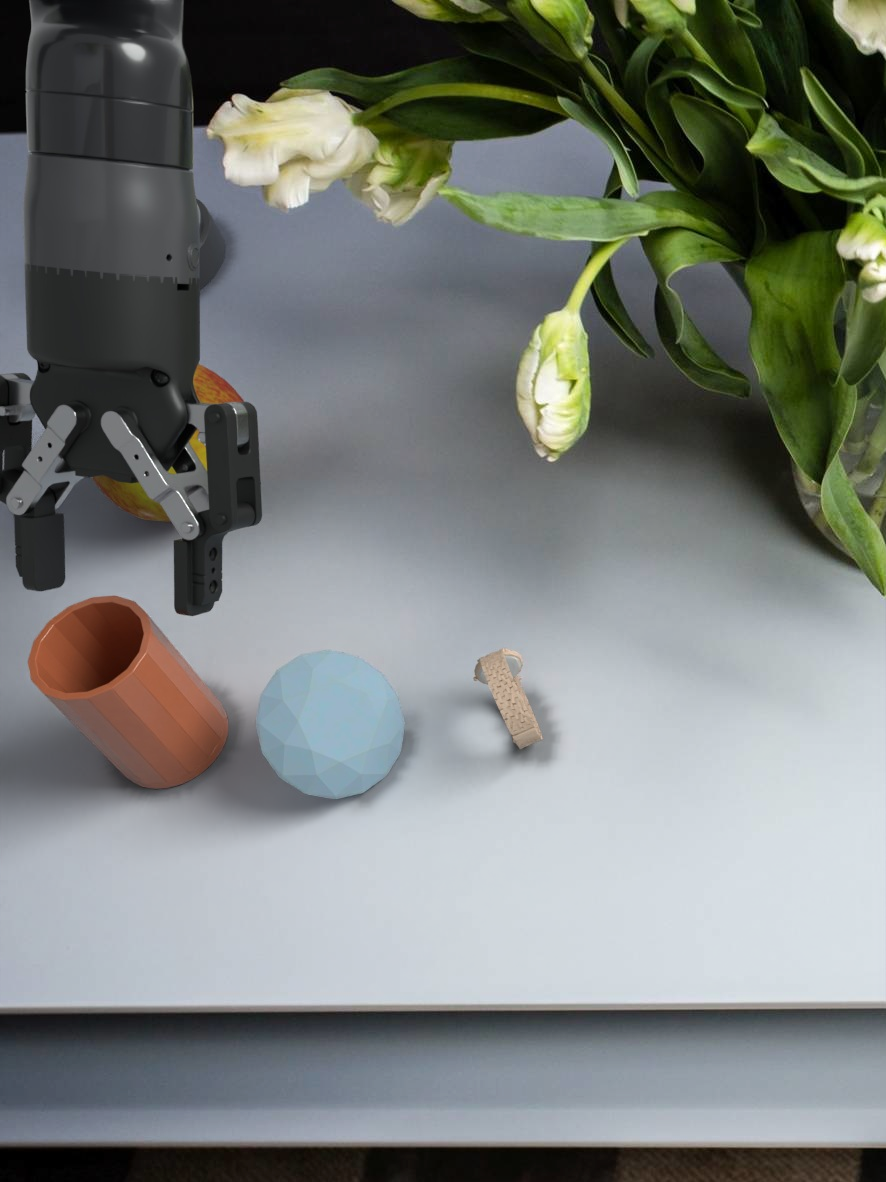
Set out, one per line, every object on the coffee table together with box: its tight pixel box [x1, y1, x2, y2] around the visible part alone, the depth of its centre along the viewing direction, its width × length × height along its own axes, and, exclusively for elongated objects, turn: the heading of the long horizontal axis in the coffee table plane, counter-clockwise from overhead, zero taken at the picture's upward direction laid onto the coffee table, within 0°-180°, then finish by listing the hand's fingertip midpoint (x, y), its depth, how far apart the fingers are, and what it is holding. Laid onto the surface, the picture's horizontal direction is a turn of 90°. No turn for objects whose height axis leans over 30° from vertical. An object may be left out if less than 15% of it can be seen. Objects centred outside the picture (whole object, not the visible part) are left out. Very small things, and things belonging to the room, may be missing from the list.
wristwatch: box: [472, 647, 544, 750], centre depth 82 cm, size 3×5×5 cm, turn 24°
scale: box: [196, 197, 227, 291], centre depth 105 cm, size 8×8×3 cm
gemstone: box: [255, 649, 406, 800], centre depth 84 cm, size 8×8×5 cm
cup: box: [27, 595, 229, 790], centre depth 83 cm, size 6×6×9 cm
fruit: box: [91, 363, 245, 523], centre depth 93 cm, size 10×9×8 cm
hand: (119, 600), depth 80 cm, fingers open, 8 cm apart
